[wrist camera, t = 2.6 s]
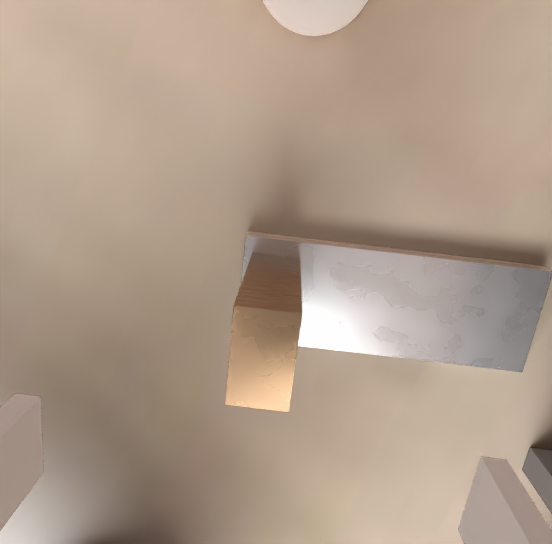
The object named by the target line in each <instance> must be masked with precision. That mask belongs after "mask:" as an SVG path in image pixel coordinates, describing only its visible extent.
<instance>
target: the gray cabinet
mask: <svg viewBox="0 0 552 544" xmlns="http://www.w3.org/2000/svg"><path fill="white" fill-rule="evenodd" d="M522 470H523V472H524V473H525V475H526V476H527V478H528V479H529V481H530V482H531V484H532V485H533V487H534V488H535V490H536V491H537V493H538V494H539V496H540V497H541V499H542V500H543V502H544V503H545V505H546V506H547V508H548V509H549V511H550V512H551V514H552V450H546V449H538V448H531V447H530V449H529V452H528V455H527V458H526V461H525V464H524V466H523V469H522Z"/></svg>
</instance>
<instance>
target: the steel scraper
mask: <svg viewBox="0 0 552 544" xmlns="http://www.w3.org/2000/svg"><path fill="white" fill-rule="evenodd" d="M551 277H552V271H551V270H549V269H548V268H546V267H544V266H542V265H533V264H525V263H516V262H507V261H499V260H490V259H482V258H473V257H465V256H456V255H447V254H439V253H430V252H422V251H413V250H405V249H396V248H387V247H379V246H370V245H362V244H353V243H345V242H336V241H327V240H319V239H310V238H302V237H293V236H285V235H276V234H267V233H259V232H250V231H248V232H247V234H246V239H245V250H244V261H243V271H242V282H241V286H240V289H239V292H238V295H237V298H236V301H235V304H234V309H233V321H232V332H231V343H230V355H229V366H228V377H227V389H226V400H225V405H233V406H241V407H250V408H258V409H267V410H275V411H283V412H289V408H290V400H291V393H292V386H293V379H294V371H295V364H296V357H297V350H298V346H304V347H313V348H321V349H330V350H338V351H347V352H355V353H364V354H372V355H381V356H389V357H398V358H406V359H415V360H423V361H432V362H440V363H448V364H457V365H465V366H474V367H482V368H491V369H499V370H508V371H516V372H522V371H523V368H524V365H525V362H526V358H527V355H528V352H529V349H530V345H531V342H532V339H533V336H534V332H535V329H536V326H537V323H538V319H539V316H540V313H541V310H542V306H543V303H544V300H545V297H546V293H547V290H548V287H549V284H550V280H551Z"/></svg>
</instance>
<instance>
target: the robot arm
mask: <svg viewBox="0 0 552 544" xmlns="http://www.w3.org/2000/svg"><path fill="white" fill-rule="evenodd" d="M43 472H44V468H43V442H42V415H41V397H40V396H32V395H25V394H18V393H15V394H14V395H13V396H12V397H11V398H10V399H9V400H8V401H6V402H5V403H4V404H3V405H2V406H1V407H0V531H1V529H2V528H3V527H4V525H5V524H6V522H7V521H8V520H9V518H10V517H11V516H12V514H13V513H14V512H15V510H16V509H17V508H18V506H19V505H20V503H21V502H22V501H23V499H24V498H25V497H26V495H27V494H28V493H29V491H30V490H31V489H32V487H33V486H34V485H35V483H36V482H37V480H38V479H39V478H40V476H41V475H42V474H43ZM458 530H459V533H460V535H461V538H462V540H463V543H464V544H552V531H551V529H550V528H549V526H548V525H547V523H546V521H545V520H544V518H543V517H542V515H541V513H540V512H539V510H538V509H537V507H536V505H535V504H534V502H533V501H532V499H531V498H530V496H529V494H528V493H527V491H526V490H525V488H524V486H523V485H522V483H521V482H520V480H519V478H518V477H517V475H516V474H515V472H514V471H513V469H512V467H511V466H510V464H509V463H508V461H507V460H505V459H497V458H490V457H483V456H481V458H480V461H479V464H478V467H477V470H476V473H475V476H474V480H473V483H472V486H471V489H470V492H469V495H468V498H467V502H466V505H465V508H464V511H463V514H462V517H461V520H460V524H459V527H458Z"/></svg>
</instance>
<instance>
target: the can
mask: <svg viewBox="0 0 552 544" xmlns="http://www.w3.org/2000/svg"><path fill="white" fill-rule="evenodd" d="M367 1H368V0H263V2H264V4H265V6H266V8H267V9H268V11H269V12H270V14H271V15H272V16H273V17H274V18H275V20H277V21H278V22H279V23H280V24H281V25H282V26H284V27H285V28H287V29H289V30H291V31H293V32H295V33H298V34H301V35H306V36H321V35H326V34H330V33H333V32H335V31H338V30H339V29H341V28H343V27H344V26H346V25H347V24H349V23H350V22H351V21H352V20H353V19H354V18H355V17H356V16H357V15H358V14H359V13H360V12H361V10H362V9H363V7H364V6H365V5H366V3H367Z"/></svg>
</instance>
